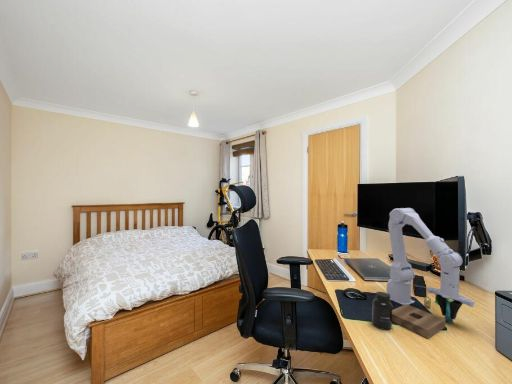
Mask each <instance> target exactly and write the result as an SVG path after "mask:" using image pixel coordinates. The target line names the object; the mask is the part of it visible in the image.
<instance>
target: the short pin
mask: <svg viewBox="0 0 512 384" xmlns="http://www.w3.org/2000/svg"><path fill="white" fill-rule="evenodd" d="M431 300H432V298H430V297H427V296H425V297H424V298H423V307H424V308H425V309H429V310H430V309H431V307H432V306H431V305H432V303H431V302H432V301H431Z"/></svg>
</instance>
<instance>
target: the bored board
mask: <svg viewBox="0 0 512 384" xmlns="http://www.w3.org/2000/svg"><path fill="white" fill-rule="evenodd" d="M392 323H394V324H396V325H398V326H401V327H403V328H404V329H407V330H409V331H411V332H413V333H415V334H417V335H419V336H421V337H423V338H426V339H427V340H429V339H430V338H431V337H433V336H434V335H436V334H438V333H440V331H442V330H444V329H445V328H446V322H445V318H442V317H440V316H438V315H434V314H432V313H430V312H427V311H425V310H423V309H420V308H417V307H415V306H413V305H411V304H409V305H408V304H405V305H401V306H399V307H396V308H394V309H393V310H392Z"/></svg>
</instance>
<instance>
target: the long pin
mask: <svg viewBox="0 0 512 384" xmlns="http://www.w3.org/2000/svg"><path fill="white" fill-rule="evenodd" d="M450 302H451V301H445V316H444V319H445V323H447V324H453V323H454V320H453V319H451V312H452V311H451V303H450Z"/></svg>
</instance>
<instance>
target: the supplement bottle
mask: <svg viewBox="0 0 512 384" xmlns="http://www.w3.org/2000/svg"><path fill="white" fill-rule="evenodd" d="M371 306H372V309H371V311H372V313H371V324H372V325H373V326H375V327H376V328H378V329H381V330H387V331H388V330H390V329H392V327H393V322H392V310H394V309H393V304H392V302H391V300H390V295H389V294H387V292H384V291H376V292H375V298H374V299H373V300H372V305H371Z"/></svg>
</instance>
